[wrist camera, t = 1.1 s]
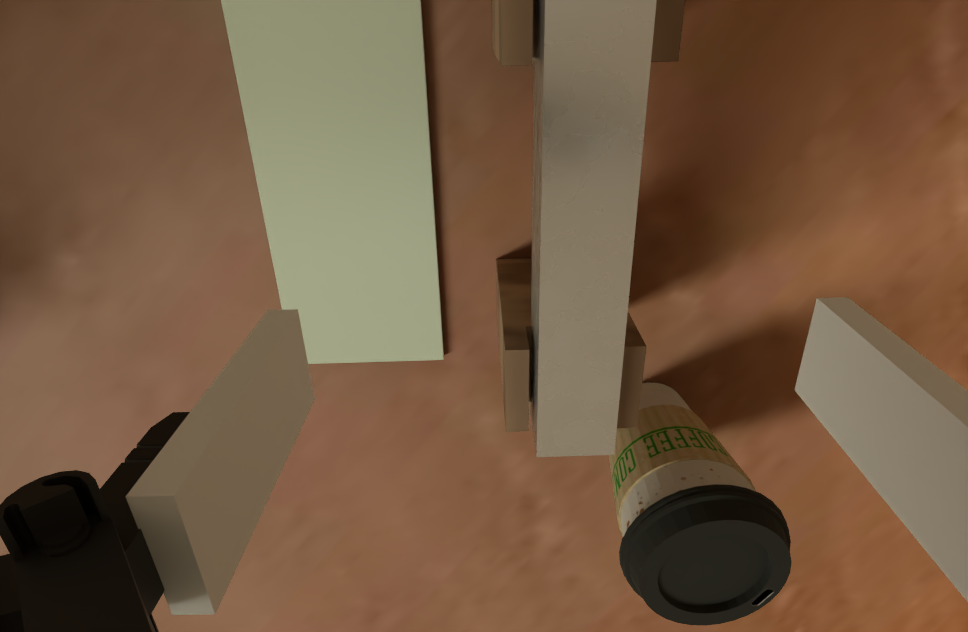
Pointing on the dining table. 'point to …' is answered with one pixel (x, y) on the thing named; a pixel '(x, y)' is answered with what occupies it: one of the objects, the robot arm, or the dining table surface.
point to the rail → (584, 213)
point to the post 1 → (518, 22)
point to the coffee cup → (692, 518)
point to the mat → (344, 170)
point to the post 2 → (517, 349)
